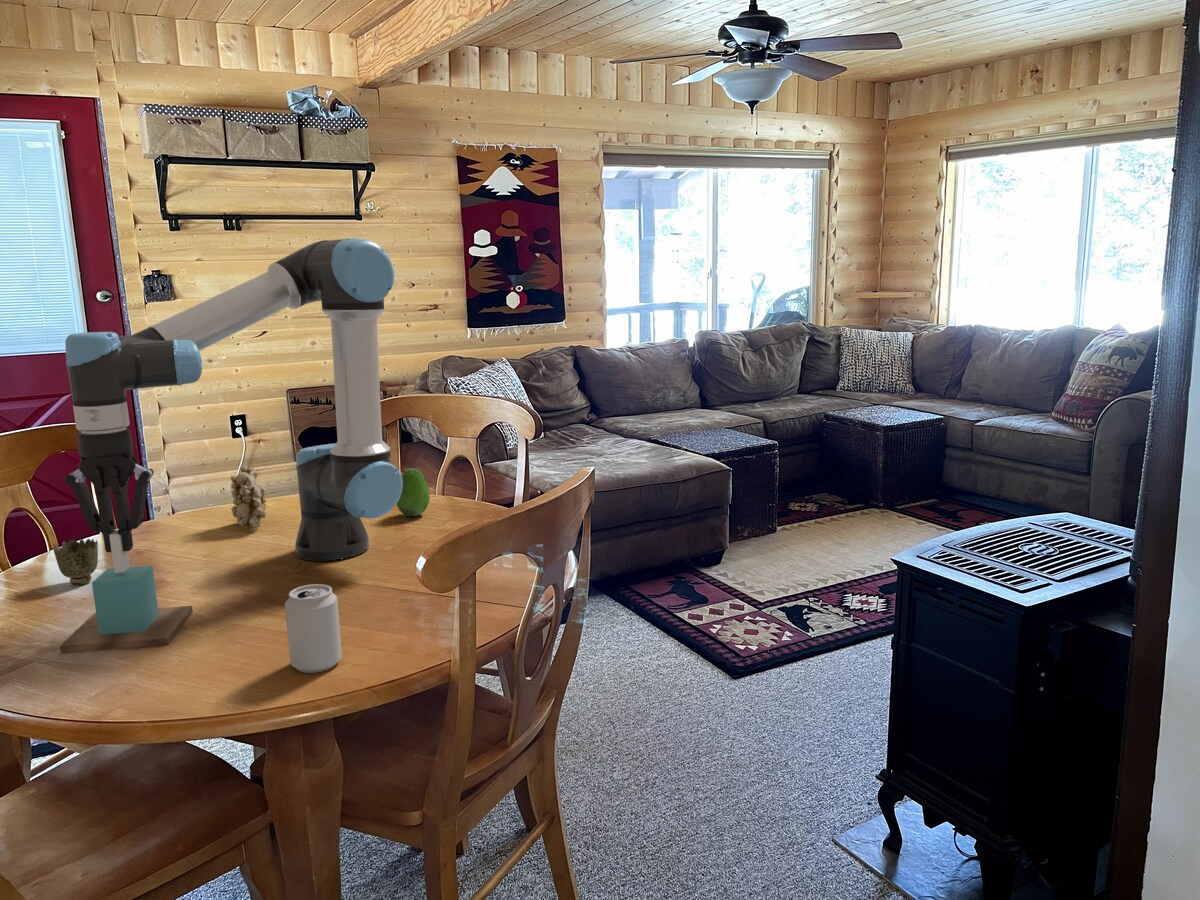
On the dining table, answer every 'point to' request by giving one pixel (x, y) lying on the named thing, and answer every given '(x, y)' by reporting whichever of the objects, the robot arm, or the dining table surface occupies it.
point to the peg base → (153, 636)
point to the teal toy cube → (125, 600)
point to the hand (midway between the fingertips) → (122, 569)
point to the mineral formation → (248, 498)
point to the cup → (77, 560)
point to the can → (313, 628)
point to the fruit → (413, 493)
